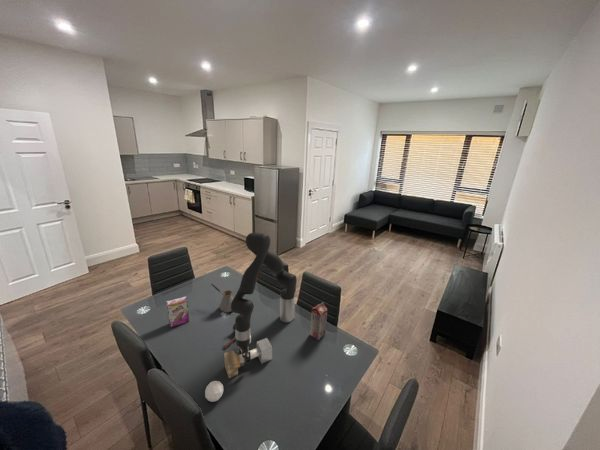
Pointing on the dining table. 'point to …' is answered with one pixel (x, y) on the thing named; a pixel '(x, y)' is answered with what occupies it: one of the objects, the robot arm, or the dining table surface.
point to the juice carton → (318, 321)
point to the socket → (231, 363)
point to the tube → (253, 354)
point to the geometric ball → (214, 391)
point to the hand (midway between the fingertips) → (243, 360)
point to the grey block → (264, 350)
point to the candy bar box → (177, 311)
